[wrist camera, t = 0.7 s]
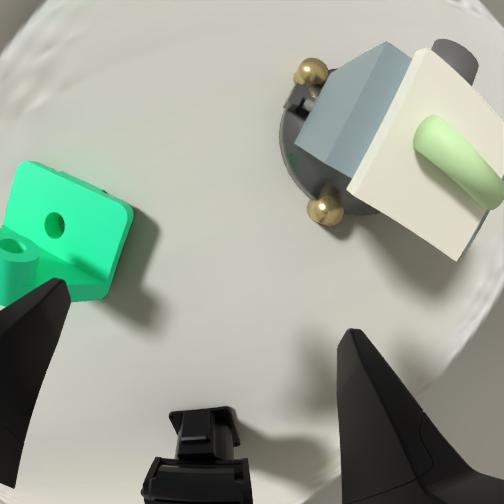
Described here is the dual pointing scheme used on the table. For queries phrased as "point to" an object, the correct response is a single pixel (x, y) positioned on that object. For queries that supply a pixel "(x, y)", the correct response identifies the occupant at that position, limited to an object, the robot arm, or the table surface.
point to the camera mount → (60, 234)
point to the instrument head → (413, 140)
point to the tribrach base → (306, 165)
